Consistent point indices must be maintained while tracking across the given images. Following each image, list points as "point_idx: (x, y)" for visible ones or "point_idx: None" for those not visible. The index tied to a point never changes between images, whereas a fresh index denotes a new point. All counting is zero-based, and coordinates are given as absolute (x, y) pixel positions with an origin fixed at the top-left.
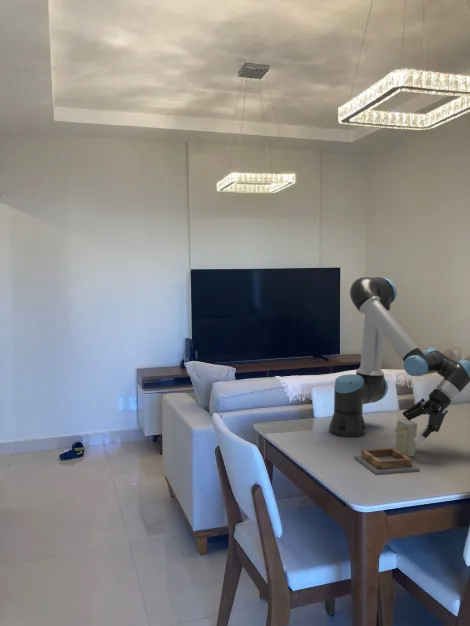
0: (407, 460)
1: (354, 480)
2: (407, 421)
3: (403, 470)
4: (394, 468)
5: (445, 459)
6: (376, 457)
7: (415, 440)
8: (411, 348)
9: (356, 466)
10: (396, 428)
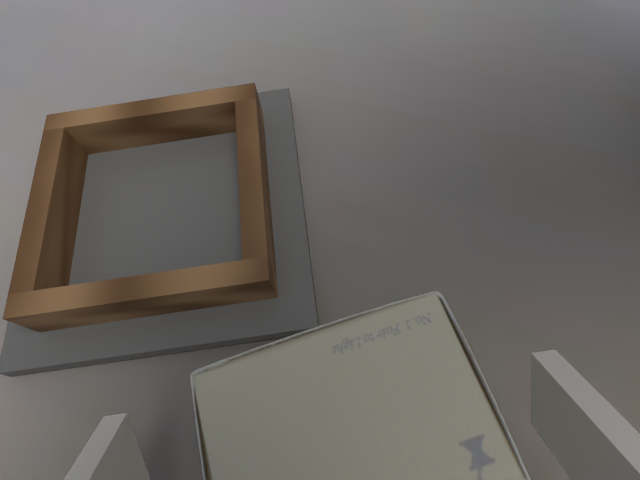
0: (13, 285)
1: (35, 49)
2: (367, 443)
3: None
4: None
5: None
6: None
7: (103, 428)
8: None
9: (180, 86)
10: (548, 380)
